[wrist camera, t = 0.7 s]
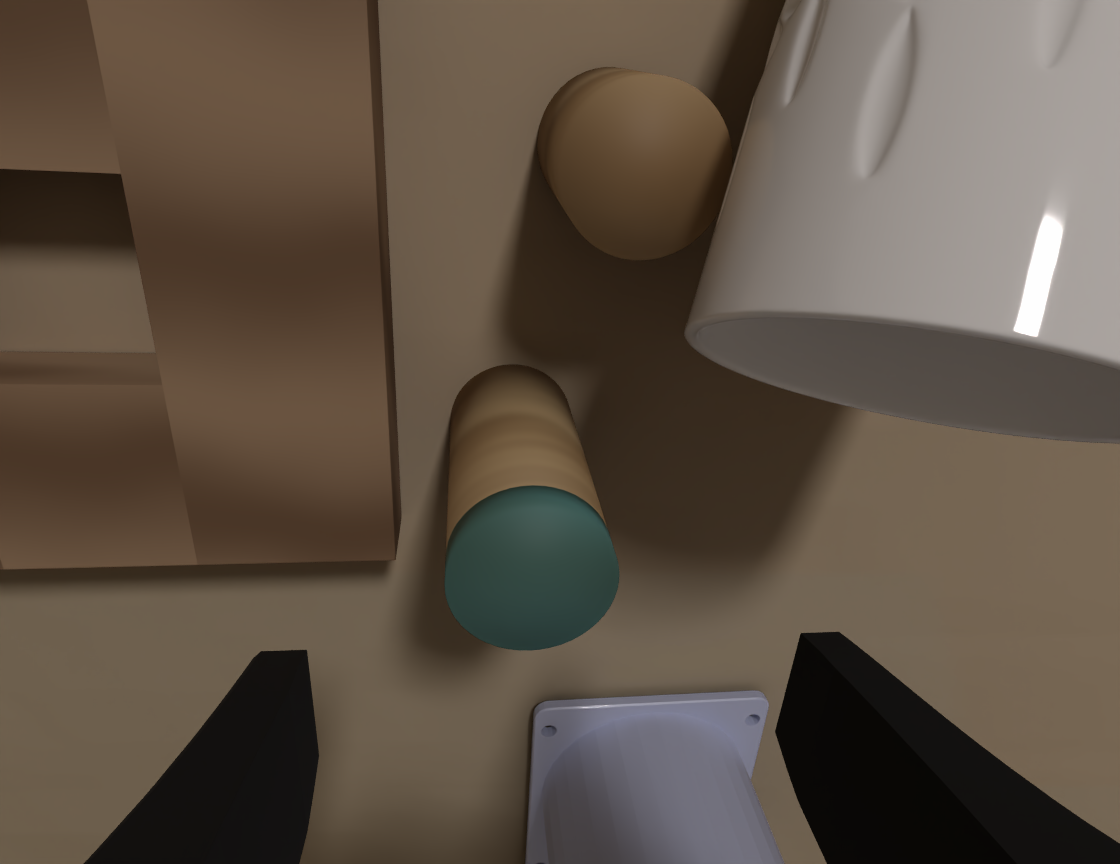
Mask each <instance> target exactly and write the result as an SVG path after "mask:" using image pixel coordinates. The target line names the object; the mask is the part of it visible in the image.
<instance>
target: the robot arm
mask: <svg viewBox="0 0 1120 864" xmlns="http://www.w3.org/2000/svg"><path fill="white" fill-rule="evenodd" d="M768 708H769V703H768V701H767V699H766V697H765V695H764V694H763V693H762V692H760V691H754V690H753V691H733V692H713V693H692V694H672V695H652V696H632V697H612V698H592V699H572V700H552V701H545V702H542V703H540V704H538V706H537V707H536V708H535V710H534V713H533V731H532V750H531V768H530V786H529V805H528V823H527V841H526V859H525V864H784V861H783V859H782V856H781V854H780V851H779V849H778V846H777V844H776V841H775V839H774V837H773V834H772V832H771V829H770V827H769V824H768V822H767V819H766V817H765V814H764V812H763V809H762V807H761V804H760V802H759V800H758V797H757V795H756V792H755V790H754V787H753V785H752V782H751V777H752V773H753V769H754V765H755V761H756V757H757V753H758V749H759V745H760V741H761V736H762V732H763V728H764V724H765V720H766V716H767V712H768ZM750 715H751V716H750ZM549 725H551V727H545V726H549ZM775 733H776V736H777V739H778V742H779V745H780V749H781V752H782V755H783V758H784V761H785V764H786V768H787V771H788V773H789V776H790V779H791V782H792V785H793V788H794V791H795V794H796V796H797V799H798V802H799V804H800V806H801V808H802V810H803V813H804V815H805V817H806V819H807V821H808V824H809V826H810V828H811V830H812V832H813V834H814V837H815V839H816V841H817V843H818V845H819V847H820V849H821V852H822V854H823V856H824V858H825V860H826V862H827V864H1120V844H1119V843H1118V842H1116V841H1115V840H1113V839H1112V838H1110V837H1109V836H1107V835H1106V834H1104V833H1102V832H1101V831H1099V830H1098V829H1096V828H1095V827H1093V826H1092V825H1090V824H1089V823H1087V822H1086V821H1084V820H1083V819H1081V818H1080V817H1078V816H1077V815H1075V814H1074V813H1072V812H1071V811H1070V810H1068V809H1067V808H1065V807H1064V806H1062V805H1061V804H1059V803H1058V802H1057V801H1055V800H1054V799H1052V798H1051V797H1050V796H1048V795H1047V794H1045V793H1044V792H1043V791H1041V790H1040V789H1039V788H1037V787H1036V786H1034V785H1033V784H1032V783H1030V782H1029V781H1028V780H1026V779H1025V778H1023V777H1022V776H1021V775H1019V774H1018V773H1017V772H1015V771H1014V770H1012V769H1011V768H1010V767H1008V766H1007V765H1006V764H1004V763H1003V762H1002V761H1000V760H999V759H998V758H996V757H995V756H994V755H992V754H991V753H990V752H989V751H987V750H986V749H985V748H983V747H982V746H981V745H979V744H978V743H977V742H976V741H974V740H973V739H972V738H970V737H969V736H968V735H967V734H965V733H964V732H963V731H961V730H960V729H959V728H958V727H956V726H955V725H954V724H953V723H951V722H950V721H949V720H948V719H946V718H945V717H944V716H943V715H941V714H940V713H939V712H938V711H936V710H935V709H934V708H933V707H932V706H930V705H929V704H928V703H927V702H925V701H924V700H923V699H922V698H920V697H919V696H918V695H917V694H916V693H914V692H913V691H912V690H911V689H909V688H908V687H907V686H906V685H905V684H903V683H902V682H901V681H900V680H898V679H897V678H896V677H895V676H894V675H892V674H891V673H890V672H889V671H888V670H886V669H885V668H884V667H883V666H881V665H880V664H879V663H878V662H877V661H875V660H874V659H873V658H872V657H870V656H869V655H868V654H867V653H865V652H864V651H863V650H862V649H860V648H859V647H858V646H857V645H855V644H854V643H853V642H852V641H850V640H849V639H848V638H846V637H845V636H844V635H842V634H841V633H840V632H822V633H801V634H800V638H799V642H798V646H797V650H796V654H795V657H794V661H793V665H792V669H791V673H790V677H789V680H788V684H787V688H786V692H785V696H784V700H783V704H782V707H781V711H780V715H779V719H778V723H777V727H776V730H775ZM318 759H319V752H318V743H317V734H316V725H315V717H314V708H313V699H312V691H311V682H310V673H309V664H308V656H307V650H289V651H261V652H260V653H259V654H258V655H256V656H255V657H254V658H253V659H252V661H251V662H250V663H249V665H248V666H247V668H246V669H245V670H244V672H243V673H242V675H241V676H240V677H239V679H238V680H237V681H236V683H235V684H234V685H233V687H232V688H231V689H230V691H229V692H228V693H227V695H226V696H225V697H224V699H223V700H222V701H221V703H220V704H219V705H218V707H217V708H216V709H215V711H214V712H213V713H212V714H211V716H210V717H209V718H208V720H207V721H206V722H205V723H204V725H203V726H202V727H201V729H200V730H199V731H198V732H197V734H196V735H195V736H194V737H193V739H192V740H191V741H190V742H189V744H188V745H187V746H186V747H185V748H184V750H183V751H182V752H181V753H180V754H179V756H178V757H177V758H176V759H175V761H174V762H173V763H172V764H171V765H170V767H169V768H168V769H167V770H166V771H165V773H164V774H163V775H162V776H161V778H160V779H159V780H158V781H157V782H156V784H155V785H154V786H153V787H152V788H151V789H150V791H149V792H148V793H147V794H146V795H145V796H144V798H143V799H142V800H141V801H140V802H139V803H138V804H137V805H136V807H135V808H134V809H133V810H132V811H131V812H130V813H129V814H128V815H127V817H126V818H125V819H124V820H123V821H122V822H121V823H120V824H119V825H118V827H117V828H116V829H115V830H114V831H113V832H112V833H111V834H110V835H109V837H108V838H107V839H106V840H105V841H104V842H103V843H102V844H101V845H100V847H99V848H98V849H97V850H96V851H95V852H94V853H93V854H92V855H91V856H90V858H89V859H88V860H87V861H86V862H85V863H84V864H299V862H300V858H301V854H302V850H303V846H304V843H305V839H306V835H307V830H308V824H309V818H310V812H311V806H312V799H313V793H314V786H315V779H316V772H317V765H318Z"/></svg>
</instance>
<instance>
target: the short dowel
mask: <svg viewBox="0 0 1120 864" xmlns="http://www.w3.org/2000/svg"><path fill="white" fill-rule="evenodd" d="M537 144H538V158H539V163H540V167H541V170H542V173H543V175H544V178H545V180H546V182H547V183H548V185H549V187H550V188H551V190H552V192H553V193H554V195H555V196H556V198H557V199H558V201H559V202H560V204H561V206H562V207H563V209H564V210H565V212H566V213H567V215H568V217H569V218H570V220H571V221H572V223H573V224H574V226H575V227H576V228H577V230H578V231H579V232H580V234H581V235H582V236H583V237H584V238H585V239H586V240H587V241H588V242H590V243H591V244H592V245H594V246H595V247H596V248H598V249H599V250H601V251H603V252H605V253H607V254H609V255H612V256H615V257H618V258H622V259H626V260H636V261H639V260H652V259H658V258H661V257H665V256H668V255H670V254H673V253H675V252H677V251H679V250H681V249H683V248H684V247H686V246H688V245H689V244H690V243H692V242H693V241H694V240H696V239H697V238H698V237H699V236H700V235H701V234H702V233H703V232H704V231H705V230H706V229H707V228H708V227H709V225H710V224H711V223H712V222H713V220H714V219H715V217H716V216H717V214H718V212H719V211H720V209H721V206H722V203H723V199H724V196H725V193H726V189H727V186H728V182H729V179H730V175H731V172H732V166H733V157H732V146H731V140H730V137H729V133H728V129H727V127H726V125H725V122H724V120H723V118H722V116H721V115H720V113H719V111H718V110H717V108H716V107H715V106H714V104H713V103H712V102H711V101H710V99H708V98H707V97H706V96H705V95H704V94H703V93H702V92H701V91H699V90H698V89H696V88H695V87H693V86H692V85H690V84H688V83H686V82H684V81H682V80H679V79H676V78H672V77H669V76H663V75H657V74H651V73H646V72H640V71H634V70H628V69H622V68H615V67H603V68H597V69H592V70H589V71H586V72H584V73H582V74H580V75H577V76H576V77H574V78H573V79H571V80H570V81H568V82H567V83H566V84H565V85H564V86H562V87H561V88H560V89H559V91H558V92H557V93H556V94H555V95H554V97H553V98H552V99H551V101H550V102H549V104H548V106H547V108H546V110H545V112H544V114H543V117H542V120H541V123H540V127H539V132H538V141H537Z"/></svg>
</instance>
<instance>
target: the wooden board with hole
mask: <svg viewBox="0 0 1120 864" xmlns="http://www.w3.org/2000/svg"><path fill="white" fill-rule="evenodd" d="M0 169H18V170H42V171H66V172H90V173H114V174H121V177H122V182H123V187H124V192H125V197H126V202H127V207H128V212H129V217H130V222H131V228H132V233H133V238H134V243H135V248H136V253H137V258H138V263H139V268H140V274H141V279H142V284H143V289H144V294H145V299H146V304H147V309H148V314H149V319H150V325H151V330H152V335H153V340H154V345H155V350H156V353H74V352H0V570H3V569H45V568H87V567H128V566H170V565H212V564H254V563H296V562H338V561H379V560H396V553H397V546H398V539H399V531H400V524H401V497H400V476H399V454H398V432H397V410H396V389H395V367H394V345H393V323H392V302H391V280H390V258H389V236H388V214H387V193H386V171H385V149H384V127H383V106H382V84H381V62H380V40H379V19H378V0H0Z"/></svg>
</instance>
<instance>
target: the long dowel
mask: <svg viewBox="0 0 1120 864" xmlns="http://www.w3.org/2000/svg"><path fill="white" fill-rule="evenodd" d="M618 583H619V566H618V561H617V557H616V554H615V551H614V547H613V544H612V541H611V538H610V535H609V532H608V528H607V525H606V522H605V519H604V516H603V512H602V509H601V506H600V503H599V500H598V497H597V493H596V490H595V487H594V484H593V481H592V478H591V474H590V471H589V468H588V465H587V462H586V458H585V455H584V452H583V449H582V446H581V443H580V439H579V436H578V433H577V430H576V427H575V423H574V420H573V417H572V414H571V411H570V408H569V404H568V401H567V399H566V396H565V394H564V393H563V391H562V389H561V388H560V387H559V385H558V384H557V383H556V382H555V381H554V380H553V379H552V378H550V377H549V376H548V375H546V374H545V373H543V372H541V371H539V370H537V369H534V368H531V367H528V366H523V365H502V366H496V367H493V368H490V369H487V370H485V371H483V372H481V373H479V374H478V375H476V376H474V377H473V378H472V379H471V380H469V381H468V382H467V383H466V384H465V385H464V387H463V388H462V389H461V391H460V392H459V394H458V395H457V397H456V399H455V402H454V404H453V408H452V413H451V430H450V457H449V483H448V509H447V535H446V562H445V595H446V599H447V602H448V605H449V607H450V610H451V612H452V614H453V615H454V617H455V618H456V620H457V621H458V622H459V623H460V624H461V625H462V627H463V628H465V629H466V630H467V631H468V632H469V633H471V634H472V635H474V636H475V637H477V638H478V639H480V640H482V641H484V642H486V643H489V644H491V645H494V646H497V647H501V648H506V649H512V650H540V649H545V648H551V647H554V646H558V645H561V644H564V643H566V642H568V641H571V640H573V639H575V638H577V637H578V636H580V635H582V634H583V633H585V632H586V631H588V630H589V629H590V628H592V627H593V626H594V625H595V624H596V623H597V622H598V621H599V620H600V619H601V618H602V617H603V616H604V615H605V613H606V612H607V610H608V609H609V607H610V606H611V604H612V602H613V600H614V598H615V595H616V592H617V588H618Z"/></svg>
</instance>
